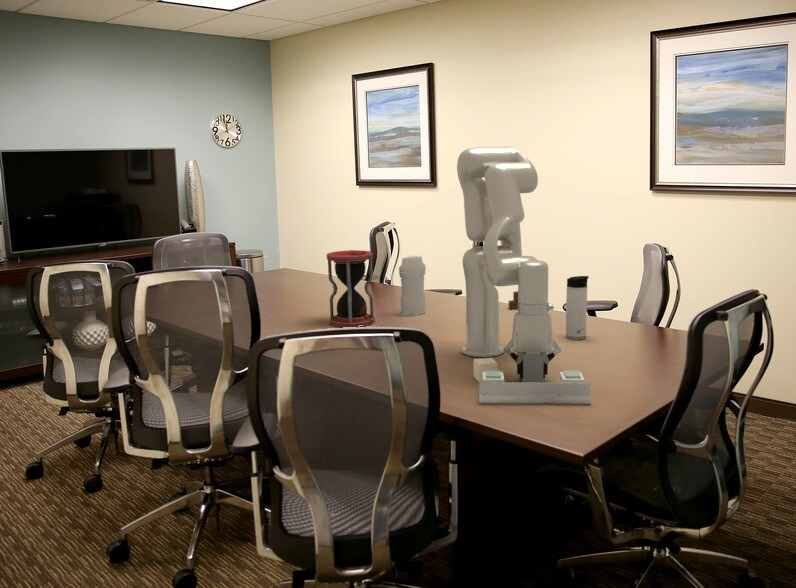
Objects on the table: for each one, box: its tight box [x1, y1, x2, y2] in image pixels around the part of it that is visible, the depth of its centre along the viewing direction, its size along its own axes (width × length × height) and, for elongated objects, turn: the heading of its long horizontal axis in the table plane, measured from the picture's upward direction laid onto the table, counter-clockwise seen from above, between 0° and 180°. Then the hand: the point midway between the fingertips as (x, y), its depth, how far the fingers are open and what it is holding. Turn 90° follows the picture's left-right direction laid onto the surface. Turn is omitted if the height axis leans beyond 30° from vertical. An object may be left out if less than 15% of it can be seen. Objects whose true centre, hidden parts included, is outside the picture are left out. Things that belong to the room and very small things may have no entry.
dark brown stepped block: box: [508, 290, 518, 311], centre depth 276 cm, size 15×15×7 cm
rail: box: [478, 381, 591, 405], centre depth 174 cm, size 2×26×5 cm, turn 85°
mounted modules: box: [483, 370, 585, 382], centre depth 179 cm, size 6×24×6 cm, turn 85°
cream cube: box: [473, 357, 498, 383], centre depth 192 cm, size 5×5×5 cm
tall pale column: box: [398, 255, 426, 317], centre depth 267 cm, size 11×4×22 cm, turn 114°
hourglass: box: [326, 249, 376, 328], centre depth 257 cm, size 16×16×25 cm
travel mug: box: [565, 275, 589, 341], centre depth 229 cm, size 6×7×20 cm
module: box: [521, 352, 544, 382], centre depth 189 cm, size 7×5×8 cm
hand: (532, 376), depth 189 cm, fingers closed on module, 5 cm apart
